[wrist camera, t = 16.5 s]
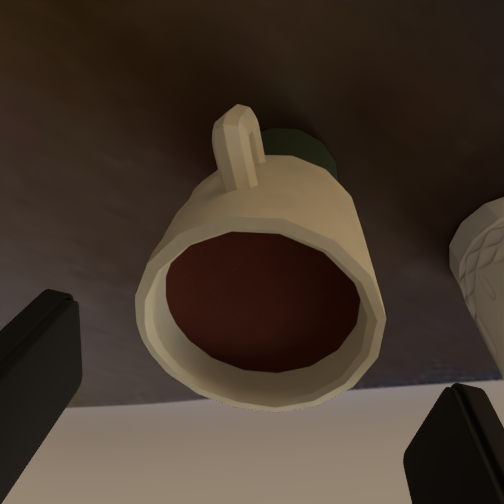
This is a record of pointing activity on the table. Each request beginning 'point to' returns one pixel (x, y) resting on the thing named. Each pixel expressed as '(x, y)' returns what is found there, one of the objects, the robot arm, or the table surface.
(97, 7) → the table surface
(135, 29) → the table surface
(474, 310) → the white cup
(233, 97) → the table surface
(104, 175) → the table surface
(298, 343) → the character mug
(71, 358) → the robot arm
